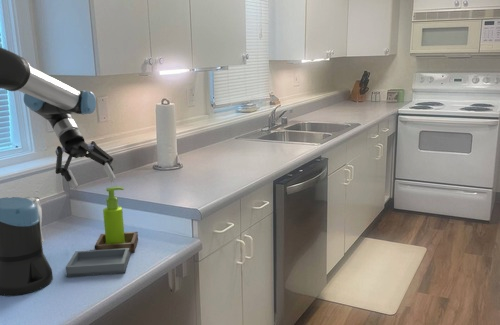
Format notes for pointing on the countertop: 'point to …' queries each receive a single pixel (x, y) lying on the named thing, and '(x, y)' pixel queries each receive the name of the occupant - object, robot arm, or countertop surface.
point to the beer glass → (37, 202)
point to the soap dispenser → (113, 219)
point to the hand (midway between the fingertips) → (95, 183)
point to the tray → (98, 262)
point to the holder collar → (128, 237)
